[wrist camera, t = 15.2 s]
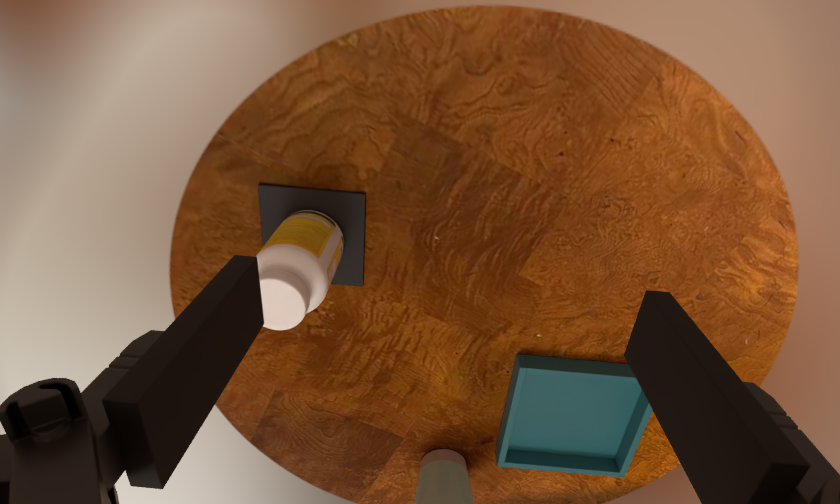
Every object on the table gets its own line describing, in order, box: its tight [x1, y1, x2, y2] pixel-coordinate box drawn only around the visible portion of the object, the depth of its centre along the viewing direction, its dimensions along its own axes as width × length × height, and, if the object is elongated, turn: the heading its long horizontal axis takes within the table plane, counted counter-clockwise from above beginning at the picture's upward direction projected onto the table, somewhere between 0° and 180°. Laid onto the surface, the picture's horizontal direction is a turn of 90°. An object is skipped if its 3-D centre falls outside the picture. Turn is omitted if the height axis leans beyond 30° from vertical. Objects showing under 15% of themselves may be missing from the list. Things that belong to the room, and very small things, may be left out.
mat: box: [258, 184, 366, 286], centre depth 44 cm, size 10×10×1 cm
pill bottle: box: [256, 210, 344, 330], centre depth 39 cm, size 6×6×12 cm
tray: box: [495, 354, 653, 477], centre depth 53 cm, size 16×16×2 cm
